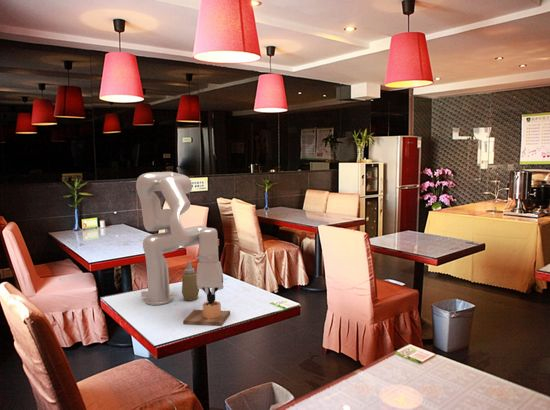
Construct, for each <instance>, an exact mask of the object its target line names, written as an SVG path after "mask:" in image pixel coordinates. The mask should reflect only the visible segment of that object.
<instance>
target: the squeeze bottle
mask: <svg viewBox="0 0 550 410" xmlns="http://www.w3.org/2000/svg"><path fill="white" fill-rule="evenodd" d="M183 271H184V272H183V274H182V281H181V282H182V283H181V284H182V285H181V293H182V295H183V299H184V300H185V301H189V302H190V301H195V300H197V299H198V295H199V294H200V293H199V292H200V289H198V286H197V272H195V268H194V267H192V263H191V261H190V260H189V261H187V266H186V268H184V269H183Z"/></svg>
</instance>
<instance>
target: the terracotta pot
mask: <svg viewBox="0 0 550 410" xmlns="http://www.w3.org/2000/svg"><path fill="white" fill-rule="evenodd" d="M213 304H215V305H213V306H211V305H210V304H208V301H205V302H203V304H202V310H203V317H205V318H208V319H214V318H217V317H219V316H220V315H221V311H222V310H221V302H220V301H217V300H215V301H214V303H213Z"/></svg>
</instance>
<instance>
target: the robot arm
mask: <svg viewBox="0 0 550 410" xmlns="http://www.w3.org/2000/svg"><path fill="white" fill-rule="evenodd" d="M135 187H136V188H135V189H136V191H137V192H136V193H137V196H138V197H139V201H140V207H141V214H142V221H143V226H144V229H145V230H146V231H147V232H157V231H158V232H159V231H165V232H159V233H153V234H149V235H147V236H146V237H145V238H144V239H143V241H142V249H143V252H144V256H145V265H146V274H147V275H146V276H147V277H146V278H147V291H146V290H145V291H144V290H142V291H141V292H140V294H141V295H140V296H141V297H142V298H143V297H145V300H144V302H145V303H146V304H147V305H151V306H160V305H166V304H169V303H171V302H172V301H173V300H174V296H173V294H170V281H169V280H170V278H169V275H170V274H169V263H168V261H167V259H166V257H165V256H164V254H166V253H171V252H175V251H177V250H179V249H180V247H183V248H189V247H192V246H196V245H198V251H199V253H198V254H199V255H196V260H199V261H198V263H197V267H196V274H197V286H198V289H199V290H202V291H203V292H204V293H205V294H206V302H208V304H213V303H214V301H216V292H217V291H220V290H223V289H224V274H223V267H222V263H221V261H219V260H220V259H219V240H218V239H219V238H218V230H217V229H216V228H213V227H207V226H205V225H197V226H196V225H195V226H190V227H184V225H183V223H182V222H181V219H180V216H181V215H183V214H184V213H186V211H188V210H189V209H190V207H191V202H190V200H189V198H188V196H187V195H186V194H190V193H191V192H192V190H193V183H192V180H191V179H190V177H189V176H187V175H185V174H181V173H178V172H173V171H161V172H160V171H157V172H156V171H153V172H152V171H151V172H146V173H142V174H141V175H139V176H138V177H137V180H136V183H135ZM155 192H161V195H162V196H163V198H164V199H165V202H166V203H167V205H168V207H169V208H164V209H163V208H162V207H161V200H160V198H159V197H158V195H157V194H156V193H155Z"/></svg>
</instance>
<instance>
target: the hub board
mask: <svg viewBox="0 0 550 410" xmlns="http://www.w3.org/2000/svg"><path fill="white" fill-rule="evenodd" d="M210 305H211V306H213V305H215V304H210ZM230 316H231V311H230V310H221V315H220V316H219V317H217V318H214V319H208V318H205V317H203V309H193V310H192V311H191V312H189V314H188V315H187V316H186V317H185V318H184V319H183V320H182V322H183V323H182V324H183V325H195V326H216V327H222V326H223V325H224V323H225V322H226V321H227V320H228V318H229V317H230Z"/></svg>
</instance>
